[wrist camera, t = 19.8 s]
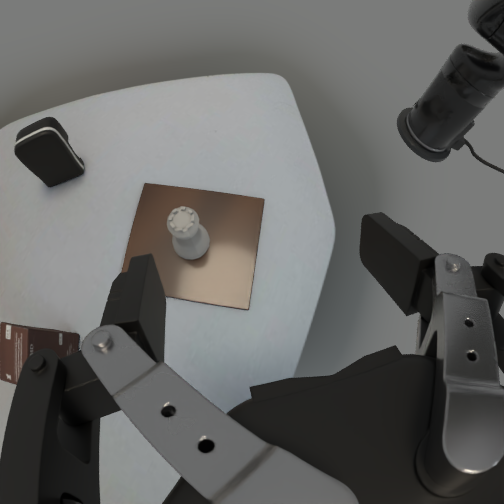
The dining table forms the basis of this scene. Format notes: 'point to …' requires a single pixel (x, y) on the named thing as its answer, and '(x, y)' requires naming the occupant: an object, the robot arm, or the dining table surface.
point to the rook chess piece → (187, 233)
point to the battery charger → (48, 152)
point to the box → (30, 346)
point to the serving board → (218, 253)
